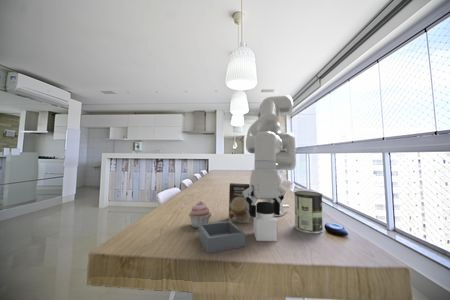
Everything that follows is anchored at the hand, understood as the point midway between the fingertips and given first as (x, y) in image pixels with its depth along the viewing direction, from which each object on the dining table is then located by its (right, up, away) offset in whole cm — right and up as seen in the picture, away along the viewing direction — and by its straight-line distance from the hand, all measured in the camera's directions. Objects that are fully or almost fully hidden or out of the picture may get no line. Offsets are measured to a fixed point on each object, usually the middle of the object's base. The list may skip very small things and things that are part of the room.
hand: (264, 215), depth 64 cm
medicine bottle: (0, -8, 0) cm, 8 cm away
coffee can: (+19, -9, +9) cm, 23 cm away
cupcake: (-24, -8, +10) cm, 27 cm away
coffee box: (-8, -9, +18) cm, 21 cm away
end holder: (-16, -7, -4) cm, 18 cm away
